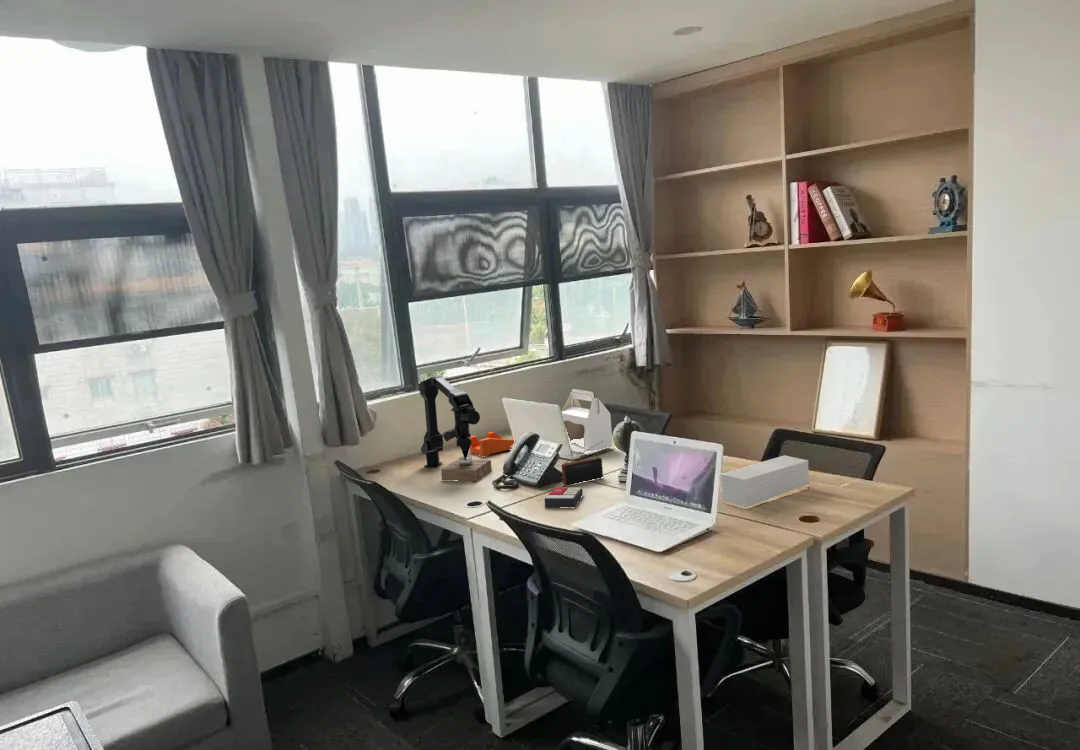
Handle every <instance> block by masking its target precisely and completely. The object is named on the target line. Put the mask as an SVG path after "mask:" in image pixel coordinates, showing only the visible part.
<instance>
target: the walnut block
mask: <svg viewBox="0 0 1080 750" xmlns="http://www.w3.org/2000/svg"><path fill="white" fill-rule="evenodd" d="M472 462H473V464H472V465H470V466H460V465H459V458H457V459H455V460H454V461H452V462H450V463H449V464H448V465H445V467H442V468H441V469H440V475H441V481H442V480H458V481H457V482H465V481H477V482H478V481H480V480H481V479H483V478H484V477H486V476H487V475H488V474H489V472H490V473H492V460H491V459H474V458H472ZM486 474H487V475H486ZM482 477H483V478H482ZM479 479H480V480H479Z"/></svg>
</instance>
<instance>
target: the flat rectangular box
mask: <svg viewBox="0 0 1080 750" xmlns="http://www.w3.org/2000/svg"><path fill="white" fill-rule="evenodd" d="M583 493H584V491H583V488H582V487H555V488H553V490H552V491H551V492H549V493H548V495H546V497H545V498H544V508H545V509H561V508H560V507H575V506H576V507H577V505H578V503H579V502H580V501H581V499H582V498H581V496H582V495H583V496H584V494H583ZM583 496H582V497H583ZM580 498H581V499H580ZM578 501H579V502H578ZM577 502H578V503H577ZM576 504H577V505H576ZM576 507H575V508H576Z"/></svg>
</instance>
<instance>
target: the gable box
mask: <svg viewBox="0 0 1080 750" xmlns="http://www.w3.org/2000/svg"><path fill="white" fill-rule="evenodd" d="M569 393H570V394H569V395H568V397H567V399H566V401H565V403H564V404H563V406H562V408H561V410H560V411H561V412H562V416H563V420H564V424H565V427H566V429H567V432H568V436H569V438H570V441H571V440H573V439H581V438H584V447H581V446H579V445H578V444H576V443H572V444H571V445H574V446H576V447H579V448H581V449H584V450H587V451H594V450H599V449H603V448H607V447H611V446H614V445H613V435H612V431H613V430H612V419H611V412H610V411H609V410H608V409H607V407H606V406H605V405H604V404H603V402H602V401H601V400H600V398H597V397H596V396H595V395H596V394H595V392H594V391H591V390H584V389H577V388H572V390H571V391H569ZM579 400H581V401H587V402H588V401H589V402H590V407H589V408H585V407H583V406H581V403H580V402H579ZM601 441H603V442H601ZM600 442H601V443H600ZM598 443H599V444H598ZM596 444H597V445H596ZM595 445H596V446H595ZM593 446H594V447H593ZM591 447H592V448H591ZM589 448H590V449H589ZM588 449H589V450H588Z"/></svg>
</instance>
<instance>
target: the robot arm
mask: <svg viewBox="0 0 1080 750" xmlns="http://www.w3.org/2000/svg"><path fill="white" fill-rule="evenodd" d="M418 390H419V394H420V396H421V398H422V399H423V400H424V401H423V403H424V412H425V413H424V414H425V422H426V424H425V425H426V431H425V434H424V436H423V443H422V446H421V447H420V452H421V454H423V455H425V456H426V457H425V458H426V460H425V461H426V464H425V465H424V466H423V467H425V468H438V467H440V466H441V465H442V463H443V462H442V461H440V452H443V450H444V441H445V442H446V443H447V442H449V441H451V440H452V439H454V438H455V439H456V441H455V442H456V447H459V448H460V449H461V453H462V457H463V456H464V458H467V456H469V452H470V445H472V442H471V438H470V436H471V432H470V425H475V426H476V425H477V424H479V422H480V419H481V416H480V413H479V412H478V411H476V408H475V407H474V404H473V402H472V400H471V397H470V396H469V394H468V393H467V391H465V390H462V389H458V388H455V387H454V386H453V385H452V384H451V383H450V382H448V380H446V379H445V378H444V377H443V375H441V374H439V375H433V376H431V377H430V378H427V379H425V380H421V381H419V384H418ZM439 391H440V392H441V393H442V394H444V395H445V396H446V397H447V398H448V403H449V404H450V405H451V407H452V408H451V409H450V410H451V412H453V415H454V428H450V429H448V430H447V431H444V432H443V433H441V432H439V429H438V416H437V405H436V404H437V402H436V401H437V400H436V399H437V396H438V394H439ZM440 464H441V465H440ZM437 466H438V467H437Z"/></svg>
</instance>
